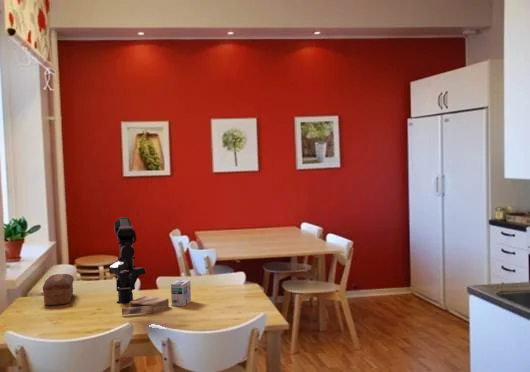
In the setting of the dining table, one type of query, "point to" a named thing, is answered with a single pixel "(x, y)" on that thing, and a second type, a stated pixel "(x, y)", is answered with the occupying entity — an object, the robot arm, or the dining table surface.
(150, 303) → the brown piece
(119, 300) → the robot arm
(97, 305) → the dining table surface
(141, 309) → the flap
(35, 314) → the dining table surface
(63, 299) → the bread
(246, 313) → the dining table surface
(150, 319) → the dining table surface
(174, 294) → the light bulb box
